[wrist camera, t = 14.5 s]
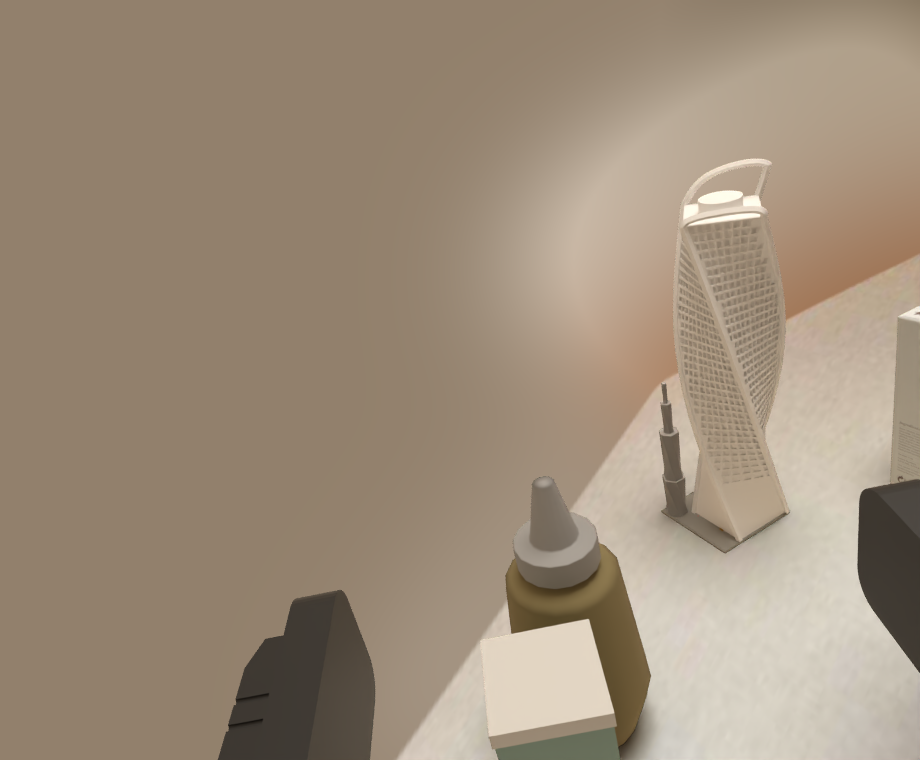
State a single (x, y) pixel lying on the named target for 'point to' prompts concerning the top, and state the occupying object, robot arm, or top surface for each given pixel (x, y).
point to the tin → (548, 695)
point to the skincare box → (907, 400)
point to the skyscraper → (726, 363)
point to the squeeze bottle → (578, 596)
